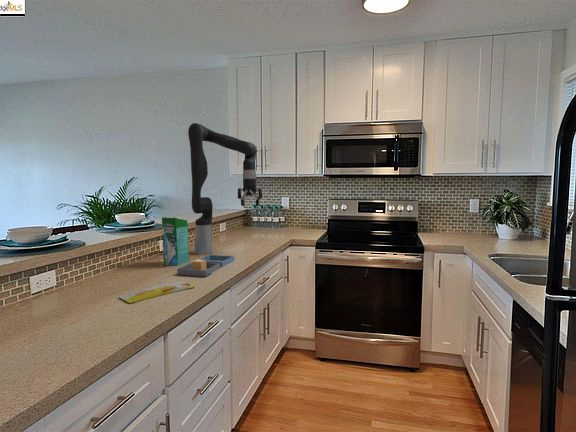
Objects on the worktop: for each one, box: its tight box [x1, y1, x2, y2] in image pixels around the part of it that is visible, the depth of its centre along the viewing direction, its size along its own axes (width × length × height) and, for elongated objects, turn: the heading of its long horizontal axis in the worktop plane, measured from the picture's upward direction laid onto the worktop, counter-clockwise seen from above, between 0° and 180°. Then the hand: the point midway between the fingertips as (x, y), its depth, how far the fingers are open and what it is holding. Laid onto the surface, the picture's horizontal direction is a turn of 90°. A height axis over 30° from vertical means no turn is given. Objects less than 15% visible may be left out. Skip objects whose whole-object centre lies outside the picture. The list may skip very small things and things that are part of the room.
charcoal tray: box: [176, 262, 221, 278], centre depth 176 cm, size 15×15×3 cm
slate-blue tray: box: [200, 254, 235, 268], centre depth 193 cm, size 15×15×3 cm
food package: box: [119, 281, 196, 304], centre depth 146 cm, size 27×2×10 cm
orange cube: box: [190, 258, 206, 270], centre depth 176 cm, size 5×5×5 cm
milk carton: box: [161, 216, 190, 267], centre depth 192 cm, size 9×9×25 cm
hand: (250, 206), depth 213 cm, fingers open, 8 cm apart
